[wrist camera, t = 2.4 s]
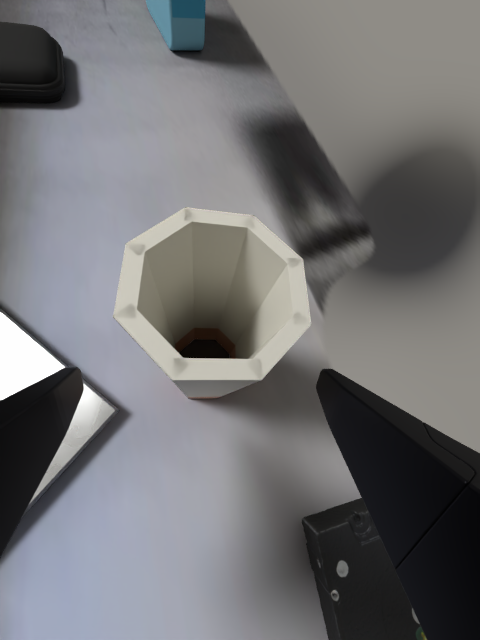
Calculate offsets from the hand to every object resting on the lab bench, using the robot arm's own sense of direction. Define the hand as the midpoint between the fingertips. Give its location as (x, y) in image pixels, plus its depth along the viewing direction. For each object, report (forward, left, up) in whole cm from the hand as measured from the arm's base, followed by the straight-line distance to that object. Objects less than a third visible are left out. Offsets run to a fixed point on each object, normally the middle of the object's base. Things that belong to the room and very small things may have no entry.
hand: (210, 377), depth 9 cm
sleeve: (+2, +1, -9) cm, 10 cm away
